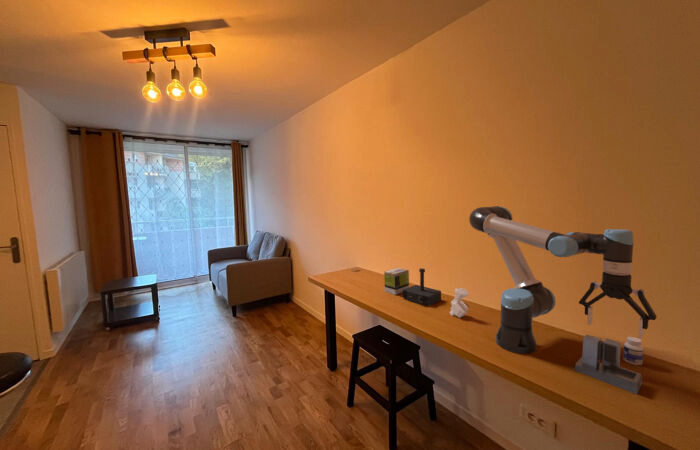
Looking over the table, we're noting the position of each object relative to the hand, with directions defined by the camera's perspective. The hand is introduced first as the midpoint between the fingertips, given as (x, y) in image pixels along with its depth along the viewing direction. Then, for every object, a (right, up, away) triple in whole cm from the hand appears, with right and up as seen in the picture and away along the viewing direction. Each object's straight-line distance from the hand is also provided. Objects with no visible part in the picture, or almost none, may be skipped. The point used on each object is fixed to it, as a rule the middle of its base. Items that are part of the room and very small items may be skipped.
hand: (613, 330), depth 101 cm
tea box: (-63, -8, +94) cm, 113 cm away
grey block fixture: (-6, -15, -4) cm, 17 cm away
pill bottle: (+12, -14, +5) cm, 19 cm away
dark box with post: (-51, -10, +76) cm, 92 cm away
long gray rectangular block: (0, -15, +2) cm, 15 cm away
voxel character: (-37, -11, +50) cm, 63 cm away
